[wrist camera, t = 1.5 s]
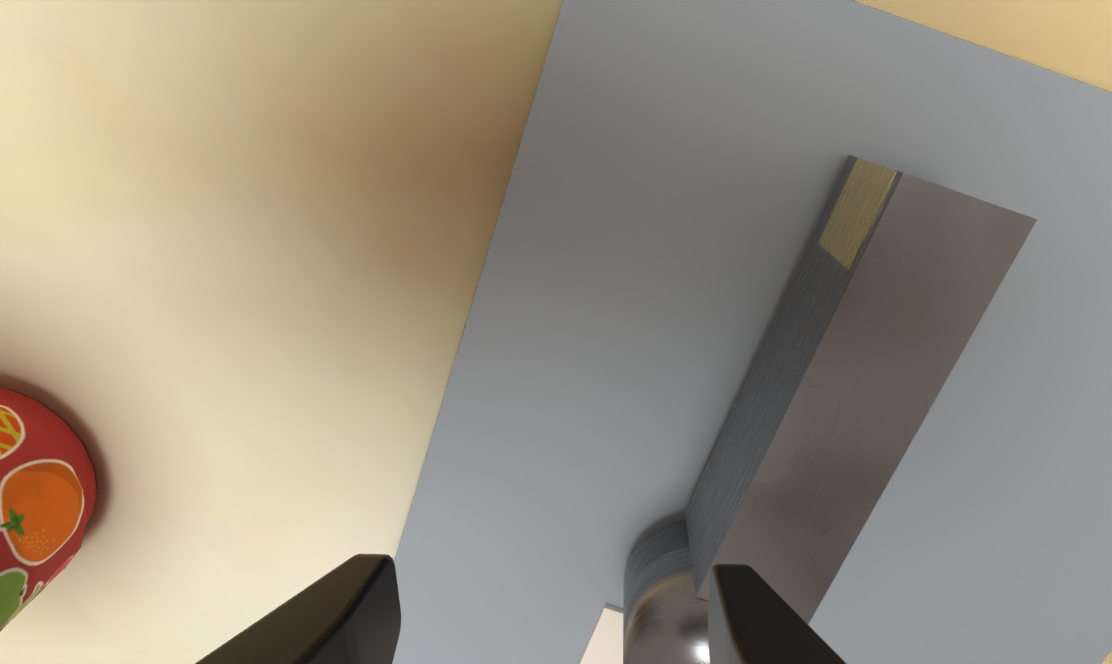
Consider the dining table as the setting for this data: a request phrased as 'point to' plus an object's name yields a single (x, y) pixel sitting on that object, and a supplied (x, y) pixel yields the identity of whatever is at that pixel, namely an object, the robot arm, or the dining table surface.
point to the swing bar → (826, 401)
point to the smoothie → (38, 499)
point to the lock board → (742, 324)
